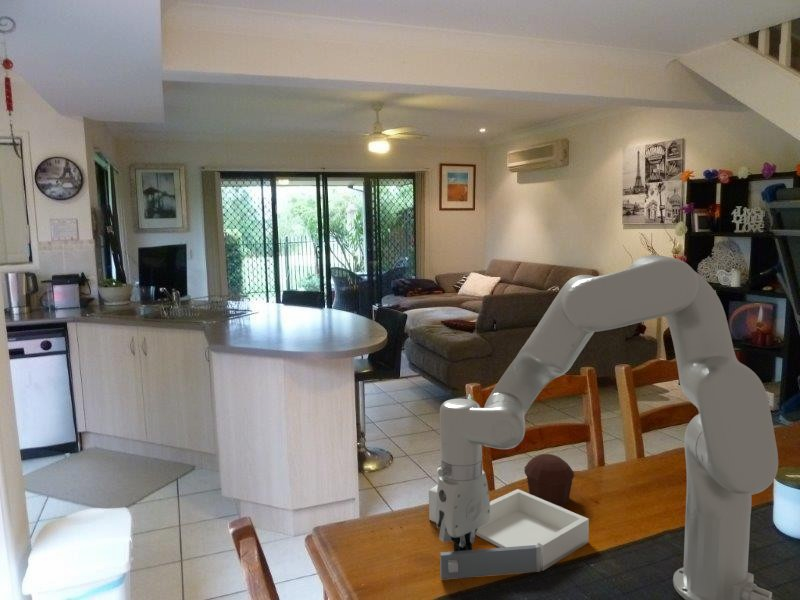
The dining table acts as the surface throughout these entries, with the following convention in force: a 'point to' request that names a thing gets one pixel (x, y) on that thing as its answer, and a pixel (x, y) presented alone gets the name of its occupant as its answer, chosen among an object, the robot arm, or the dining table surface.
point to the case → (534, 526)
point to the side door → (490, 562)
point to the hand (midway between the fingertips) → (463, 562)
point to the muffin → (549, 478)
